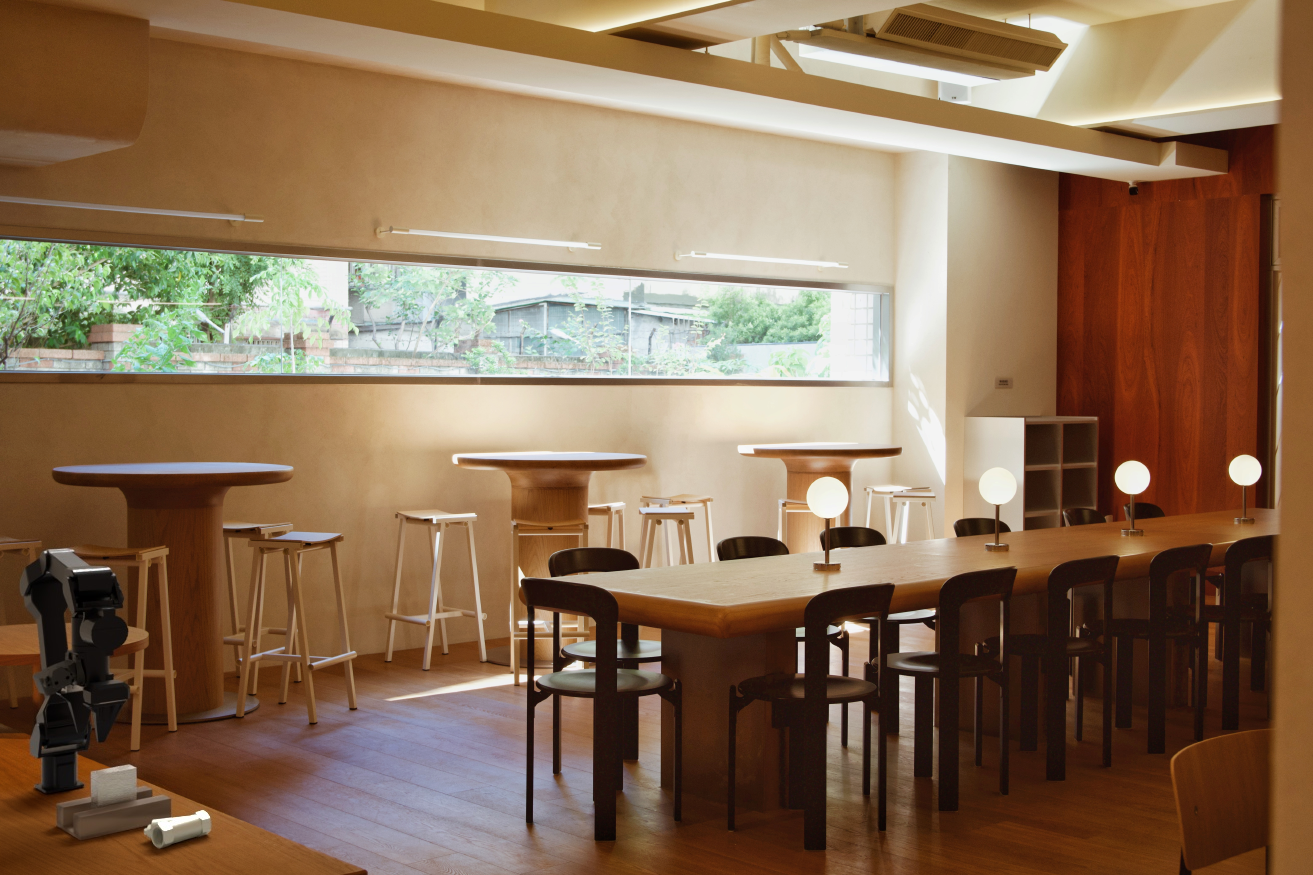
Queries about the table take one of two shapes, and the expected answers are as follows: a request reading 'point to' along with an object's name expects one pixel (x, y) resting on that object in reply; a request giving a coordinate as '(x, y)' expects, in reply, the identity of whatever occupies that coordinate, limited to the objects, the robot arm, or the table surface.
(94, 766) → the table surface
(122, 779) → the brushed metal bar
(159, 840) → the pipe fitting
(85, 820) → the grey u-channel
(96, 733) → the robot arm
